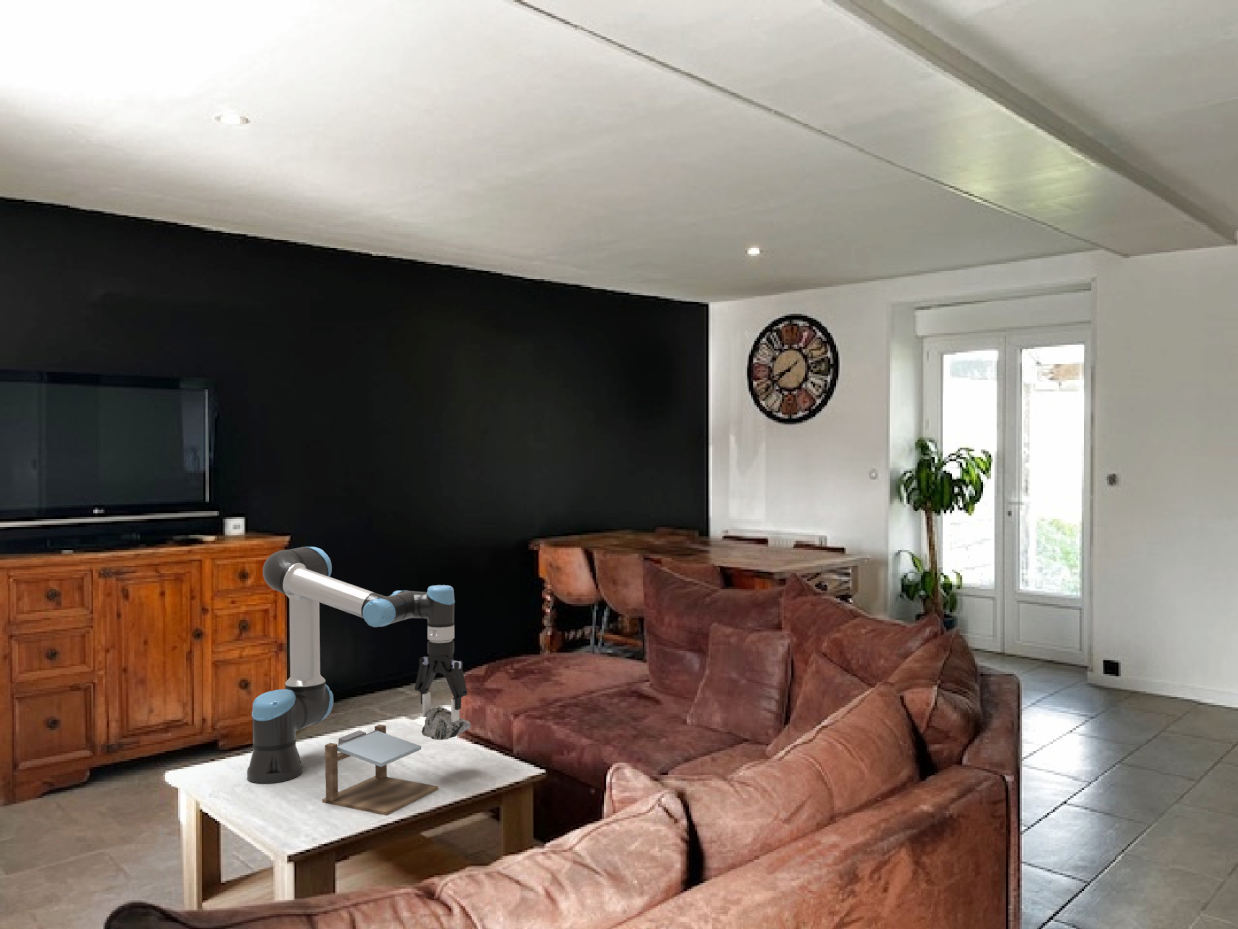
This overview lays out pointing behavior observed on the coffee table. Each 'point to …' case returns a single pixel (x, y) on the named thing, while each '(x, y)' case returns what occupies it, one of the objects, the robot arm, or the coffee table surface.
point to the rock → (443, 724)
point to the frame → (371, 787)
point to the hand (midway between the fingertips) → (440, 718)
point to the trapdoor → (375, 747)
